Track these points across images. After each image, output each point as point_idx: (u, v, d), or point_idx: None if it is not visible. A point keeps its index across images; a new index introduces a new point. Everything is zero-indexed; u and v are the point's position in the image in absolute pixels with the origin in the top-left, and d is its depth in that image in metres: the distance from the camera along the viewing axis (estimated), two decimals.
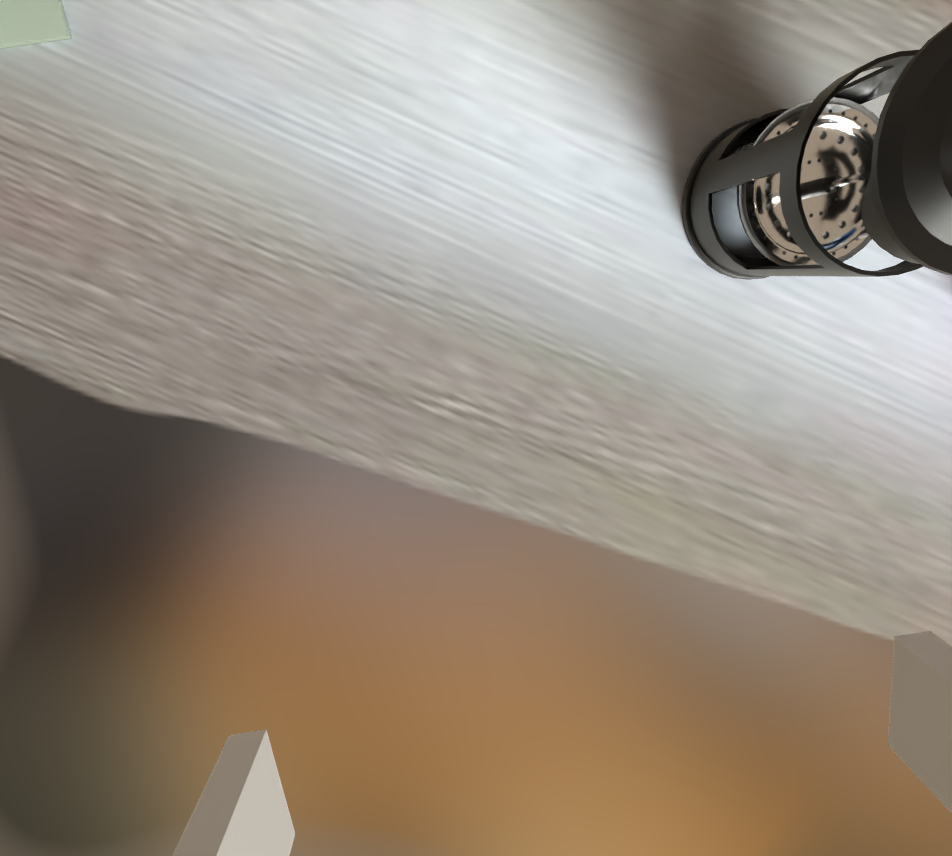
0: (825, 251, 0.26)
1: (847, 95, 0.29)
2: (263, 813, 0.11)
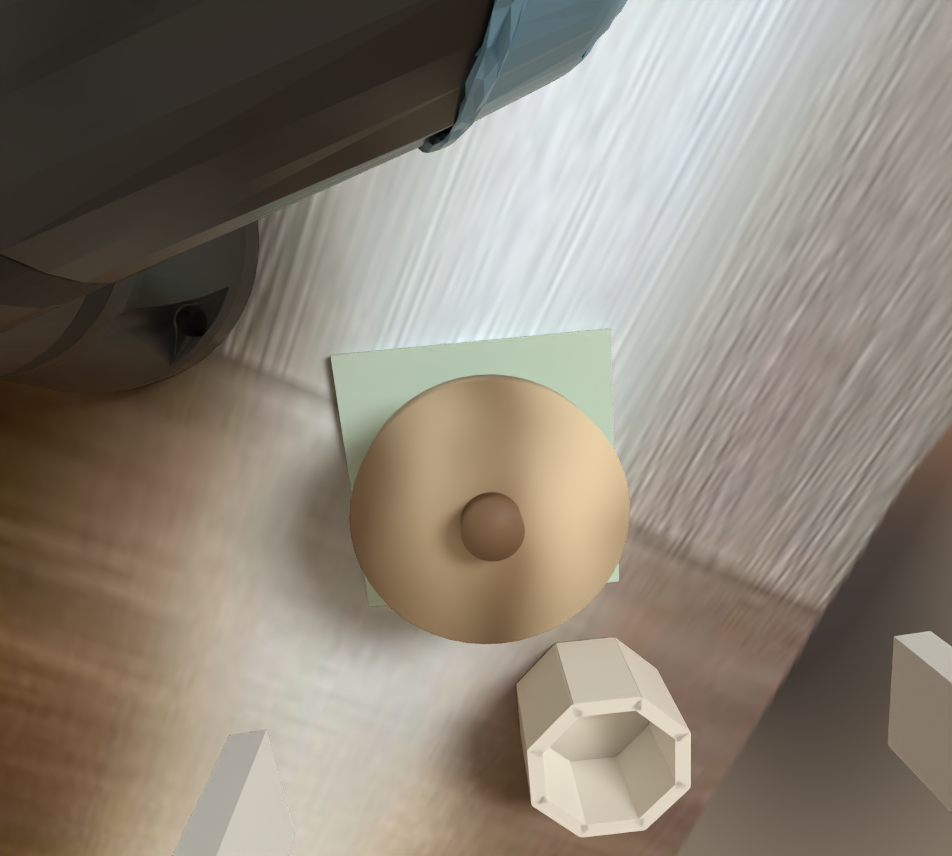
0: None
1: None
2: (263, 813, 0.11)
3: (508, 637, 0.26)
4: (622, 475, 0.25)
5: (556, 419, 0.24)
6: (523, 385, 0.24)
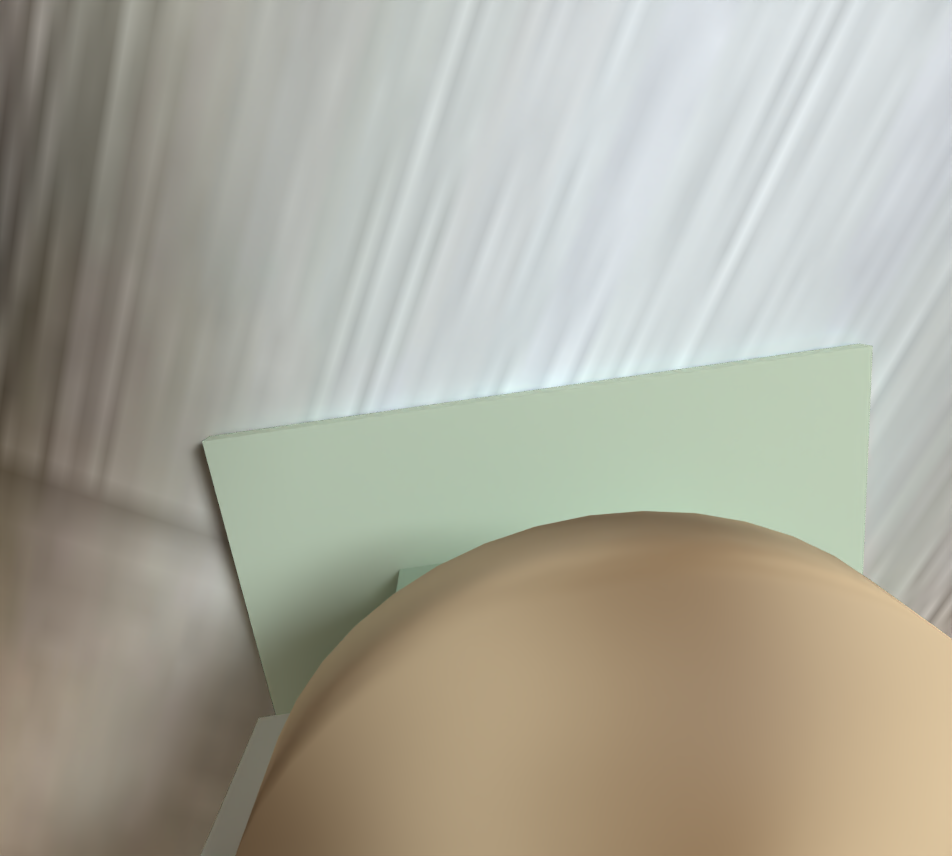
0: None
1: None
2: None
3: None
4: None
5: (889, 686, 0.07)
6: (785, 584, 0.07)
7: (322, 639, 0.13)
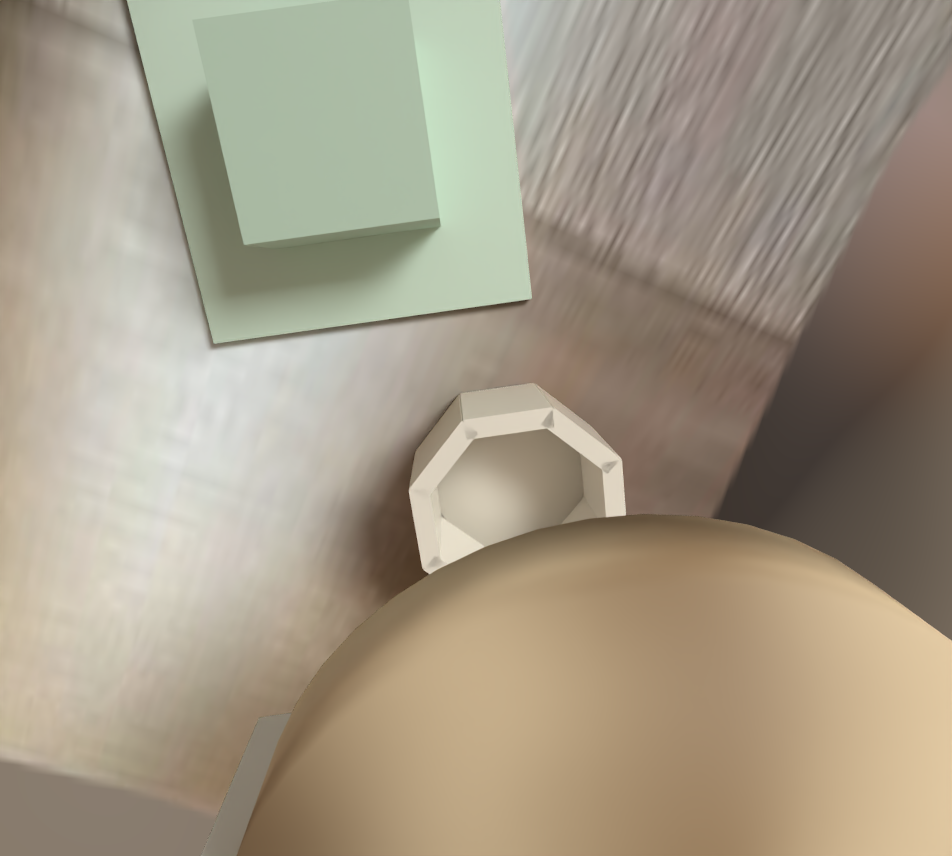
0: None
1: None
2: None
3: None
4: None
5: (893, 691, 0.07)
6: (787, 588, 0.07)
7: (193, 110, 0.23)
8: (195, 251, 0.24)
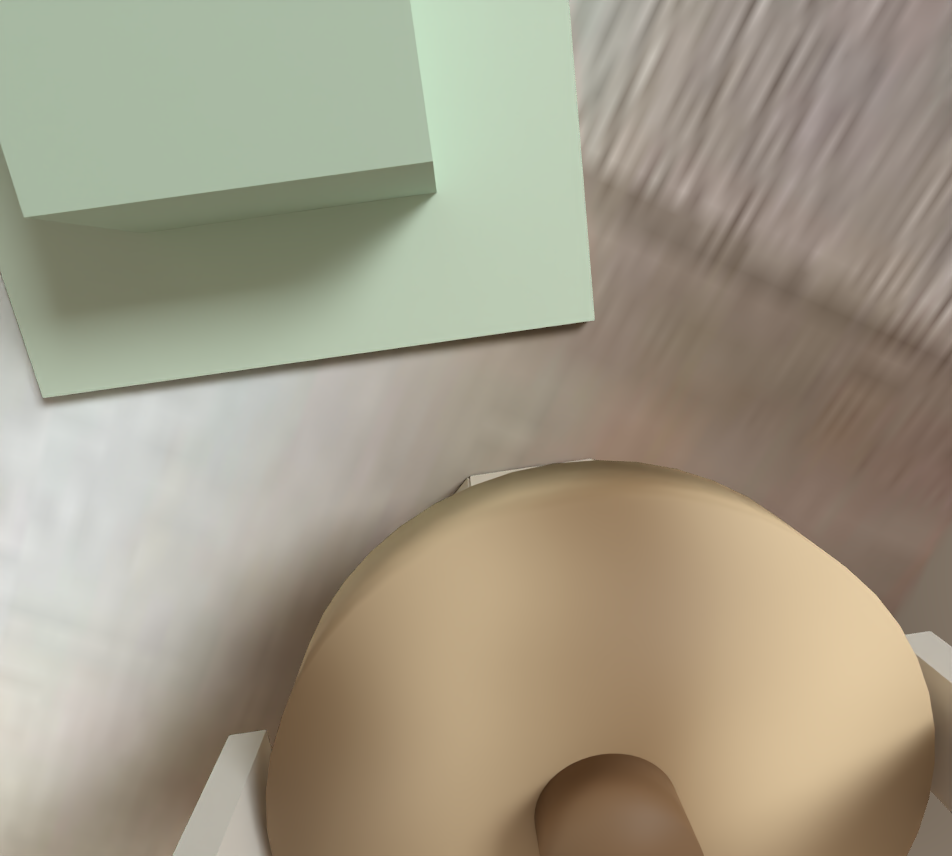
0: None
1: None
2: (263, 813, 0.11)
3: None
4: (923, 698, 0.10)
5: (772, 583, 0.09)
6: (691, 504, 0.09)
7: None
8: None
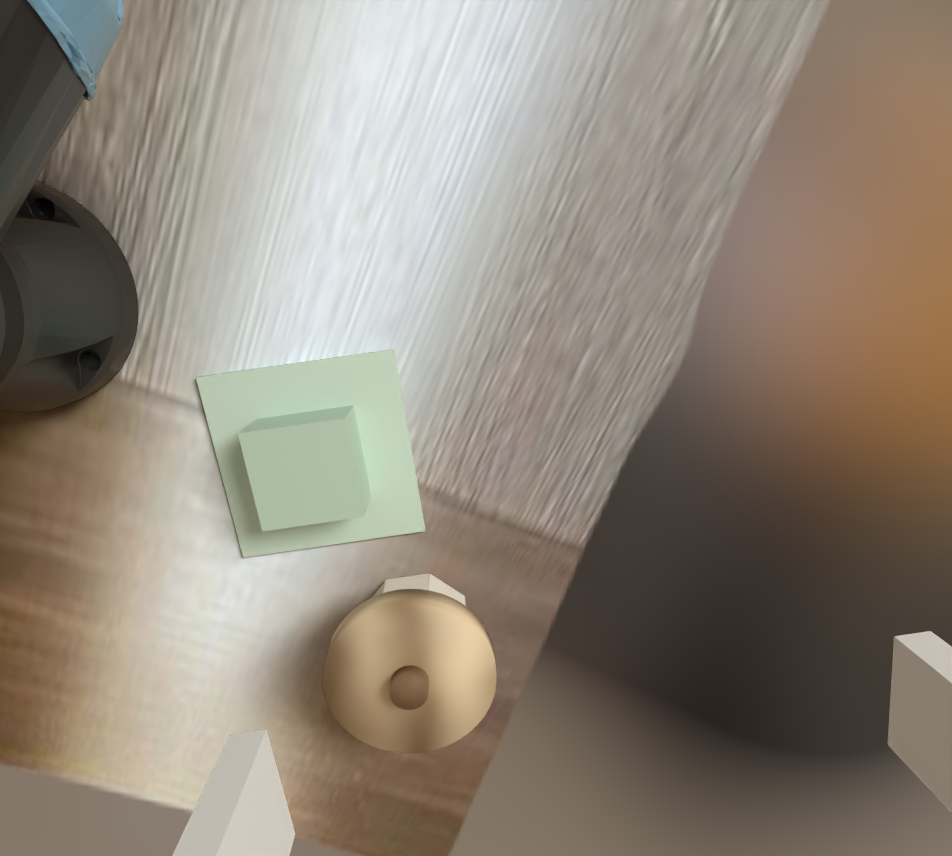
0: None
1: None
2: (263, 813, 0.11)
3: (427, 748, 0.42)
4: (488, 651, 0.40)
5: (444, 623, 0.39)
6: (422, 604, 0.39)
7: (233, 442, 0.42)
8: (233, 510, 0.44)
